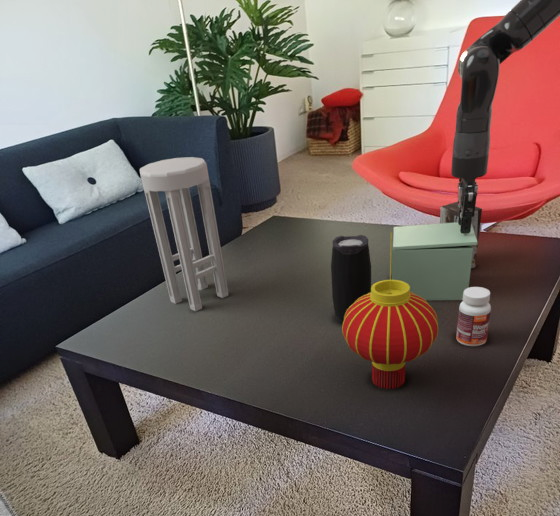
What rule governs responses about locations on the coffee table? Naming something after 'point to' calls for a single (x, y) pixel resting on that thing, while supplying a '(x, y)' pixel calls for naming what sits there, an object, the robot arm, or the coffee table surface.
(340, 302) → the portable speaker
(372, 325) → the lantern
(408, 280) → the chest
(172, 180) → the stool
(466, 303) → the pill bottle
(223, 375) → the coffee table surface
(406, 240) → the lid
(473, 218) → the coffee box
